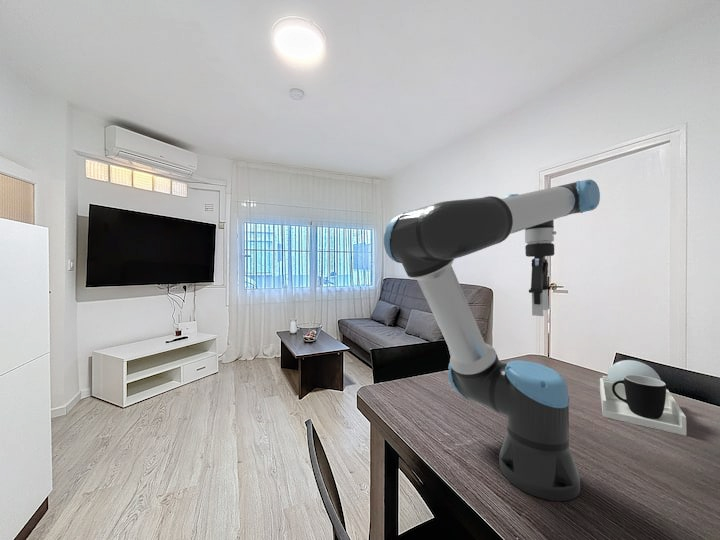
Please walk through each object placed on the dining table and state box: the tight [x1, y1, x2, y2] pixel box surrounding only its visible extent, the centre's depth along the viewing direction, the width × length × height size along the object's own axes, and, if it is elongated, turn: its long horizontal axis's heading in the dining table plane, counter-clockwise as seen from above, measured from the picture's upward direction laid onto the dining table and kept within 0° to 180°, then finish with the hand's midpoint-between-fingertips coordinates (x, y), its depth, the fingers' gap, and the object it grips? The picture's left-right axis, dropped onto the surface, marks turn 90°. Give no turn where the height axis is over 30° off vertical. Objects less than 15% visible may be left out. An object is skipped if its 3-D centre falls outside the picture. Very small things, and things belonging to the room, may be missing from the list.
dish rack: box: [599, 375, 687, 437], centre depth 91 cm, size 22×17×6 cm
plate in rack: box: [607, 359, 662, 384], centre depth 96 cm, size 1×13×13 cm, turn 52°
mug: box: [612, 375, 667, 419], centre depth 88 cm, size 12×9×10 cm
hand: (540, 312), depth 88 cm, fingers open, 13 cm apart
